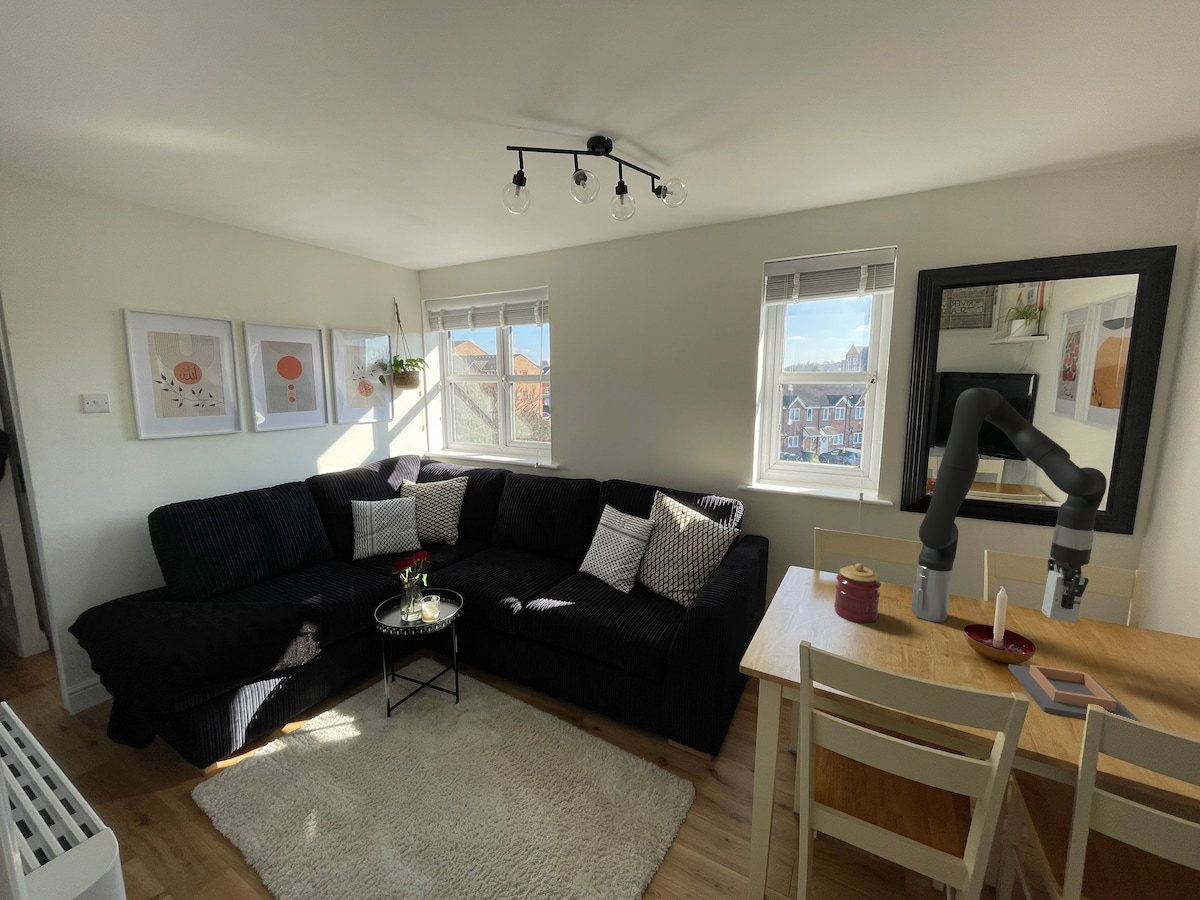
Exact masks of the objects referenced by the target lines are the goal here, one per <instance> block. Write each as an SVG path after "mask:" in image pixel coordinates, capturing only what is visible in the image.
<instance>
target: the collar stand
mask: <svg viewBox="0 0 1200 900" xmlns="http://www.w3.org/2000/svg"><path fill="white" fill-rule="evenodd" d="M1007 667H1008V670H1009V671H1010V672H1011V673H1012V675H1013V676H1014V677H1015V679H1016V680H1017V681H1018V682H1019V683H1020V684H1021V686H1022V687H1023V688H1024V690H1025V691H1026V692H1027V694H1029V696H1030V697H1031V698H1032V699H1033V700H1034V702H1035V703H1036V704H1037V705H1038V706H1039V708H1040V709H1041V710H1042V711H1043V712H1044V713H1049V714H1056V715H1060V716H1061V715H1062V716H1065V717H1073V718H1078V717H1079V718H1080V717H1081V718H1080V719H1085V718H1086V713H1087V706H1088V704H1096V705H1099V706H1101V707H1103V708H1104V709H1105V710H1107V711H1108V712H1110V713H1113V714H1116V715H1120V716H1123V717H1126V718H1129V719H1132V720H1135V721H1139V722H1142V721H1141V720H1140V719H1138V717H1136V716H1135V714H1133V713H1132V712H1131V711H1130V710H1129V709H1128V708H1127V707H1126V706H1125V705H1124V704H1122V702H1120V700H1118V699H1117V698H1116V697H1115V696H1114V695H1113V694H1112V693H1111V692H1110V691H1108V689H1106V688H1105V686H1103V685H1102V684H1101V683H1100V682H1099V681H1098V680H1097V679H1095V678H1094V676H1091V675H1089V673H1087V672H1083V671H1076V670H1072V669H1071V670H1070V669H1064V668H1055V667H1050V666H1042V665H1036V664H1035V665H1034V664H1030V665H1029V666H1023V665H1016V664H1010V663H1009V664H1008V666H1007ZM1085 720H1086V719H1085Z"/></svg>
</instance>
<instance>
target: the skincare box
mask: <svg viewBox="0 0 1200 900" xmlns="http://www.w3.org/2000/svg"><path fill="white" fill-rule="evenodd" d="M1061 581H1062V576H1061V574H1060V573H1059V572H1055V571H1049V573H1048V572H1047V580H1046V586H1045V589H1044V595H1043V602H1042V605H1041V606H1042V607H1041V613H1043V614H1044V615H1045V616H1046V617H1047V618H1048V619H1052V620H1058V621H1065V622H1071V623H1074V622H1075V623H1077V622H1078V616H1079V611H1080V606H1081V602H1082V601H1081V600H1082V597H1076V596H1075V598H1074V604H1073V608H1072V609H1064V608H1062V607H1061V602H1062V596H1063V585H1061ZM1066 583H1072V582H1067V581H1066ZM1069 588H1070V586H1069V587H1068V590H1069ZM1077 592H1078V590H1077Z"/></svg>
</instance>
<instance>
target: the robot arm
mask: <svg viewBox="0 0 1200 900" xmlns="http://www.w3.org/2000/svg"><path fill="white" fill-rule="evenodd" d="M984 421H986V422H988V423H990V424H992V425H994V426H995V427H997V428H999V429H1000V431H1002V432H1003V433H1004V434H1005V435H1006V436H1007V437H1008V438H1009V439H1010V441H1011V442H1012V444H1013V445H1014V446H1015V448H1016V449H1017V450H1018V451H1019V452H1020V453H1021V454H1022V455H1023V456H1025V458H1027V459H1028V460H1029V461H1030V462H1032V463H1033V464H1034V465H1035V466H1037V467H1038V468H1039V469H1041V470H1042V472H1044V474H1045V475H1046V476H1047V478H1048V479H1049V480H1050V482H1052V483H1053V484H1054V486H1056V488H1058V489H1059V490H1060V491H1062V492H1063V493H1065V494H1066V495H1067V499H1066V501H1065V502H1063V503H1062V504H1061V505H1060V506H1059V509H1058V513H1057V518H1056V525H1055V528H1054V530H1053V534H1052V540H1051V547H1050V553H1049V555H1050V557H1051V558H1048V559H1047V574H1048V573H1049V571H1055V572H1059V573H1060V574H1061V576H1062V581H1061V585H1063V596H1062V602H1061V607H1062V608H1064V609H1072V608H1073V604H1074V598H1075V596H1076V597H1081V598H1082V597H1083V595H1084V593H1085V590H1086V588H1087V586H1088V584H1089V578H1088V577H1083V576H1082V574H1083V572H1082V567H1083V566H1086V565H1088V564H1089V563H1090V560H1091V553H1092V550H1093V545H1094V544H1093V543H1094V528H1095V523H1096V519H1097V517H1096V516H1097V512H1098V510H1099V508H1100V506H1101V504H1102V501H1103V499H1104V496H1105V494H1106V491H1107V485H1108V483H1107V482H1108V481H1107V478H1106V476H1105V474H1104V473H1103V472H1102V471H1101V470H1100V469H1097V468H1095V467H1079V465H1077V464H1076V463H1074V461H1072V459H1071V454H1070V452H1069V451H1067V450H1066V449H1065V448H1064V447H1062V446H1061V445H1060V444H1058V443H1057V442H1056V441H1054V440H1053V439H1052V438H1050V437H1049V436H1048V435H1046V434H1045V433H1043V432H1042V431H1041V430H1040V429H1038V428H1037V427H1035V425H1033V424H1032V423H1031V422H1029V421H1028V420H1027V419H1026V418H1025V417H1024V416H1023V415H1021V414H1020V412H1018V411H1017V410H1016V409H1015V408H1014V407H1013V406H1012V405H1011V404H1010V402H1009V401H1008V400H1007V399H1006V398H1005V397H1004V396H1003V395H1002V394H1001V393H1000V392H999V391H997V390H996V389H993V388H989V387H988V388H987V387H970V388H968V389H966V390H964V391H962V392H961V393H960V394H959V396H958V397H957V400H956V402H955V406H954V412H953V418H952V423H951V427H950V428H951V429H950V431H949V432H950V433H949V436H948V440H947V442H946V446H945V449H944V453H943V456H942V459H941V461H940V464H939V467H938V470H937V474H936V479H935V482H934V487H933V490H932V495H931V499H930V503H929V506H928V508H927V511H926V513H925V516H924V517H923V520H922V522H921V524H920V527H919V529H918V537H919V540H920V542H921V543H922V548H921V550H920V552H919V556H918V563H917V571H916V582H913V587H912V588H913V591H912V597H911V598H912V599H911V611H912V613H913V614H914V615H915V617H916V618H919V619H922V620H925V621H928V622H932V623H933V622H935V623H943V622H946V621H947V618H948V612H949V611H948V609H949V602H950V592H951V585H952V584H951V583H952V577H953V576H952V575H953V568H954V564H955V563H954V562H955V560H956V557H957V550H958V541H959V528H958V525H957V524H956V523H955V520H956V517H957V513H958V511H959V510H960V507H961V506H962V504H963V502H964V500H965V499H966V497H967V496H968V493H969V491H970V490H971V488H972V485H973V483H974V481H975V478H976V475H977V471H978V468H979V463H980V461H979V460H980V459H979V448H978V436H979V434H980V431H981V427H982V425H983V423H984ZM1066 581H1067V582H1072V583H1066ZM1069 586H1070V588H1069V590H1068V587H1069ZM1077 590H1078V592H1077Z"/></svg>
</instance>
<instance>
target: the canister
mask: <svg viewBox="0 0 1200 900" xmlns="http://www.w3.org/2000/svg"><path fill="white" fill-rule="evenodd" d="M836 580H837V583H836V585H835V598H834V599H835V600H834V605H833V607H834V612H835V613H836V614H837V615H838V616H840V617H841V618H843V619H845V620H849V621H851V622H855V623H864V624H865V623H866V624H867V623H873V622H875V621H876V620H877V619H878V615H879V602H880V601H879V600H880V596H881V593H880V590H879V589H880V588H881V582H880V581H879V575H878V574H877V573H876V572H874V571H873V569H870V568H869V567H866V566H864V565H863V564H862V563H860V562H859V563H855V565H852V564H851V565H847V566H844V567H842V568H840V569H839V573H838V574H837V575H836Z"/></svg>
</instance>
